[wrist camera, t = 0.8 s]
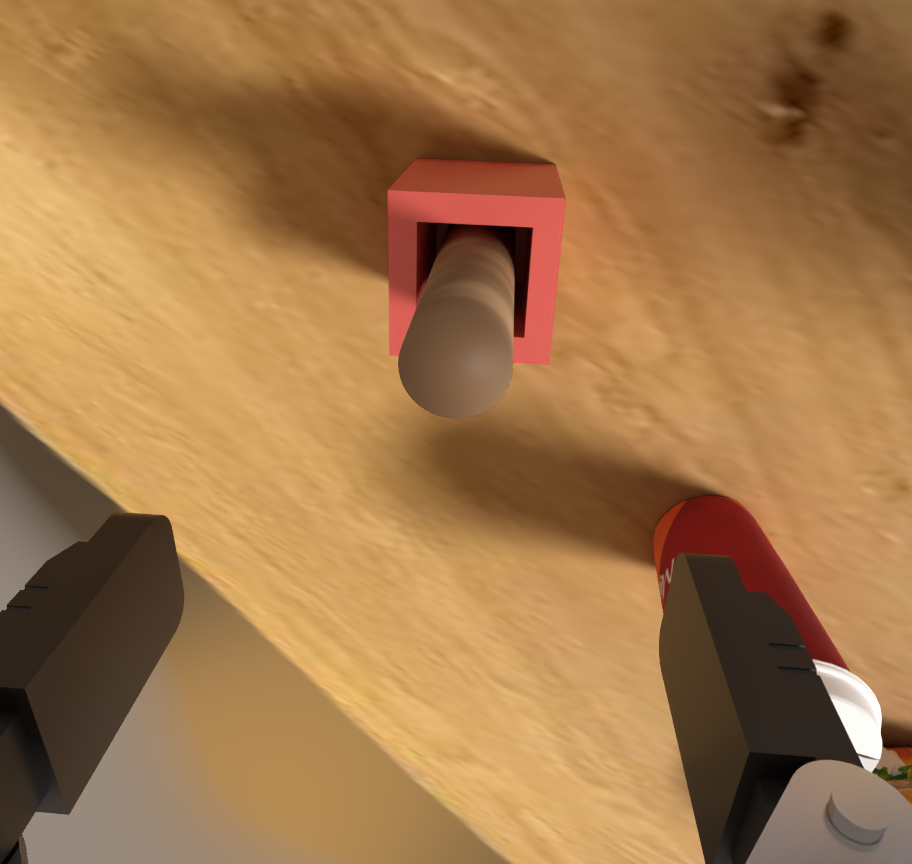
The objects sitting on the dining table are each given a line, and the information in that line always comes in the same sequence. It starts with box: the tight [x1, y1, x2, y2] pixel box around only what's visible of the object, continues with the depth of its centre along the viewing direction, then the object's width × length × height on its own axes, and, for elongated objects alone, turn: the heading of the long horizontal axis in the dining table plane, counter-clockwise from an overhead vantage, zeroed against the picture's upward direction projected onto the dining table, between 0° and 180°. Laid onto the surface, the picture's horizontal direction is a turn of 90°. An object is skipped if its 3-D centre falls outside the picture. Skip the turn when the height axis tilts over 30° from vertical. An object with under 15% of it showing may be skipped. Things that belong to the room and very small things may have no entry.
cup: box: [388, 158, 566, 365], centre depth 29 cm, size 6×6×8 cm
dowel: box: [398, 223, 515, 418], centre depth 26 cm, size 3×3×15 cm
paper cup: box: [653, 495, 882, 772], centre depth 34 cm, size 8×8×14 cm
